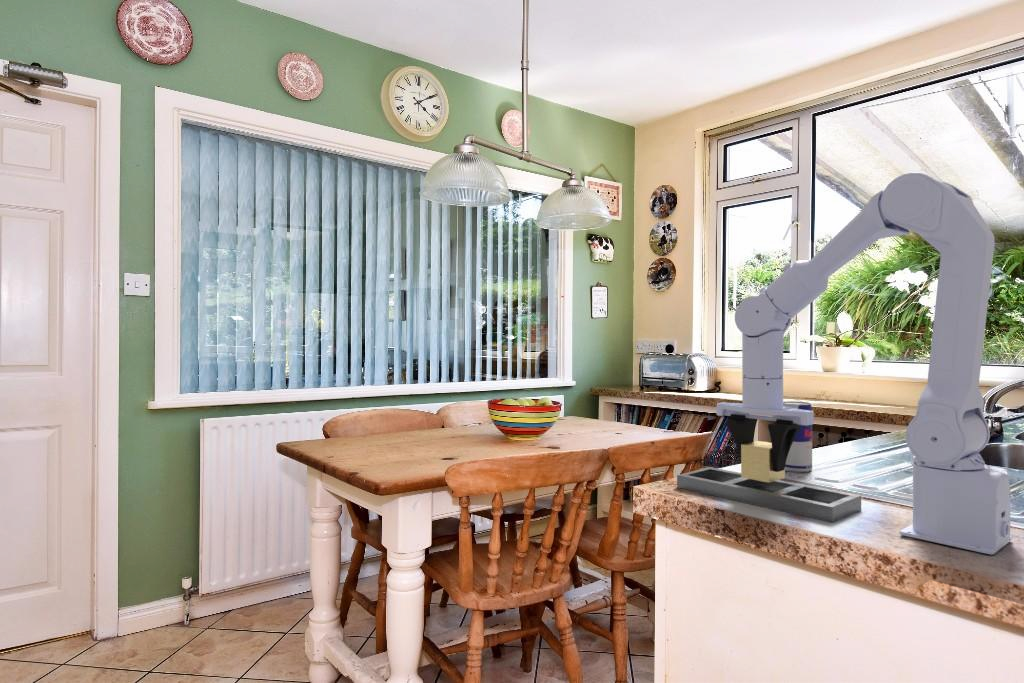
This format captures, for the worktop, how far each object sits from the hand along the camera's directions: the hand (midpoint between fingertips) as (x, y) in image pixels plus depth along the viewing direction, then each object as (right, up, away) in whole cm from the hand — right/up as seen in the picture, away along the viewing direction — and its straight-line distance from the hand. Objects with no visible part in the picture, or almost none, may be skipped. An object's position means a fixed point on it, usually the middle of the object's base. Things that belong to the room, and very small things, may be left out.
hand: (762, 467), depth 96 cm
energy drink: (+13, -4, +19) cm, 23 cm away
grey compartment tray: (0, -5, 0) cm, 4 cm away
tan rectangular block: (0, -2, 0) cm, 2 cm away
